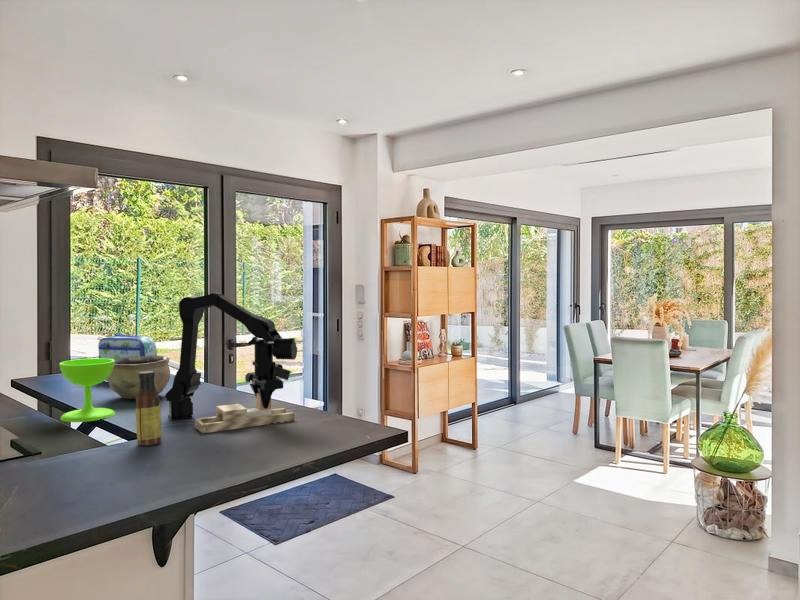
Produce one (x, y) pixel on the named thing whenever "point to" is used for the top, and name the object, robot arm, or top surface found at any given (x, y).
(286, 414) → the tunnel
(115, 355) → the lunch box
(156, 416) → the sauce bottle
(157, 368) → the ceramic bowl
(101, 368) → the wineglass
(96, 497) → the top surface
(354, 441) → the top surface
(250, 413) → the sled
